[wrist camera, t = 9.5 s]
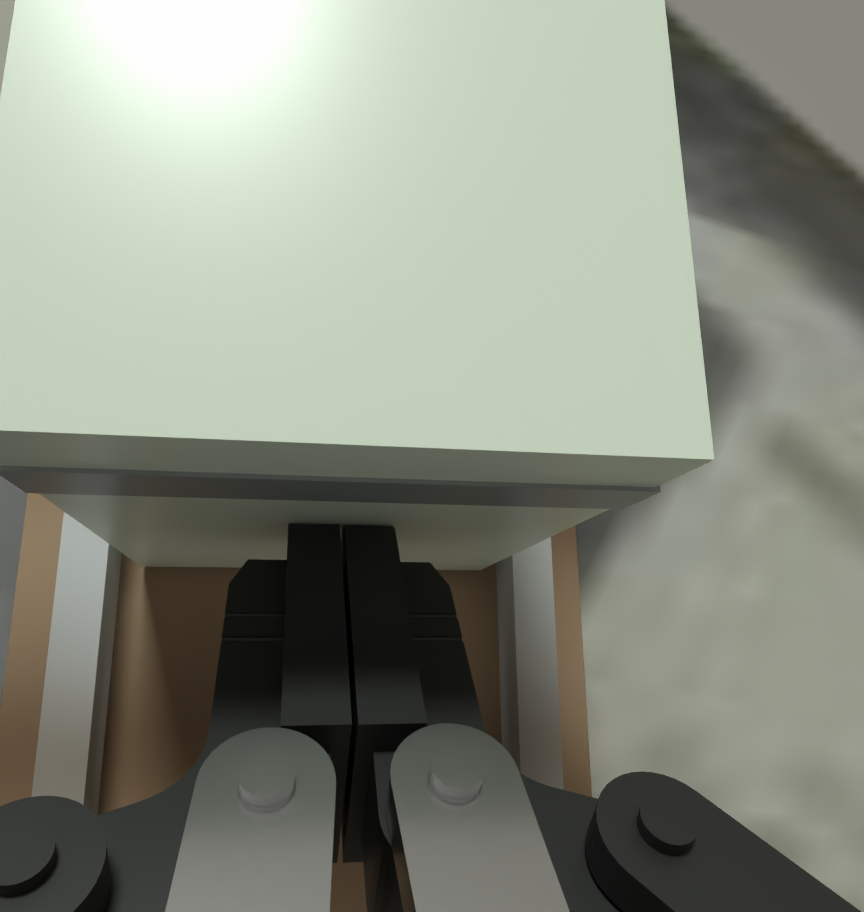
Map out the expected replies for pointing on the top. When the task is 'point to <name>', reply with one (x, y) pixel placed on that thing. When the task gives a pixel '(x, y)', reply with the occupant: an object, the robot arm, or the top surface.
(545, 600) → the rail base
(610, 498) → the sliding block
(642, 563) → the top surface
